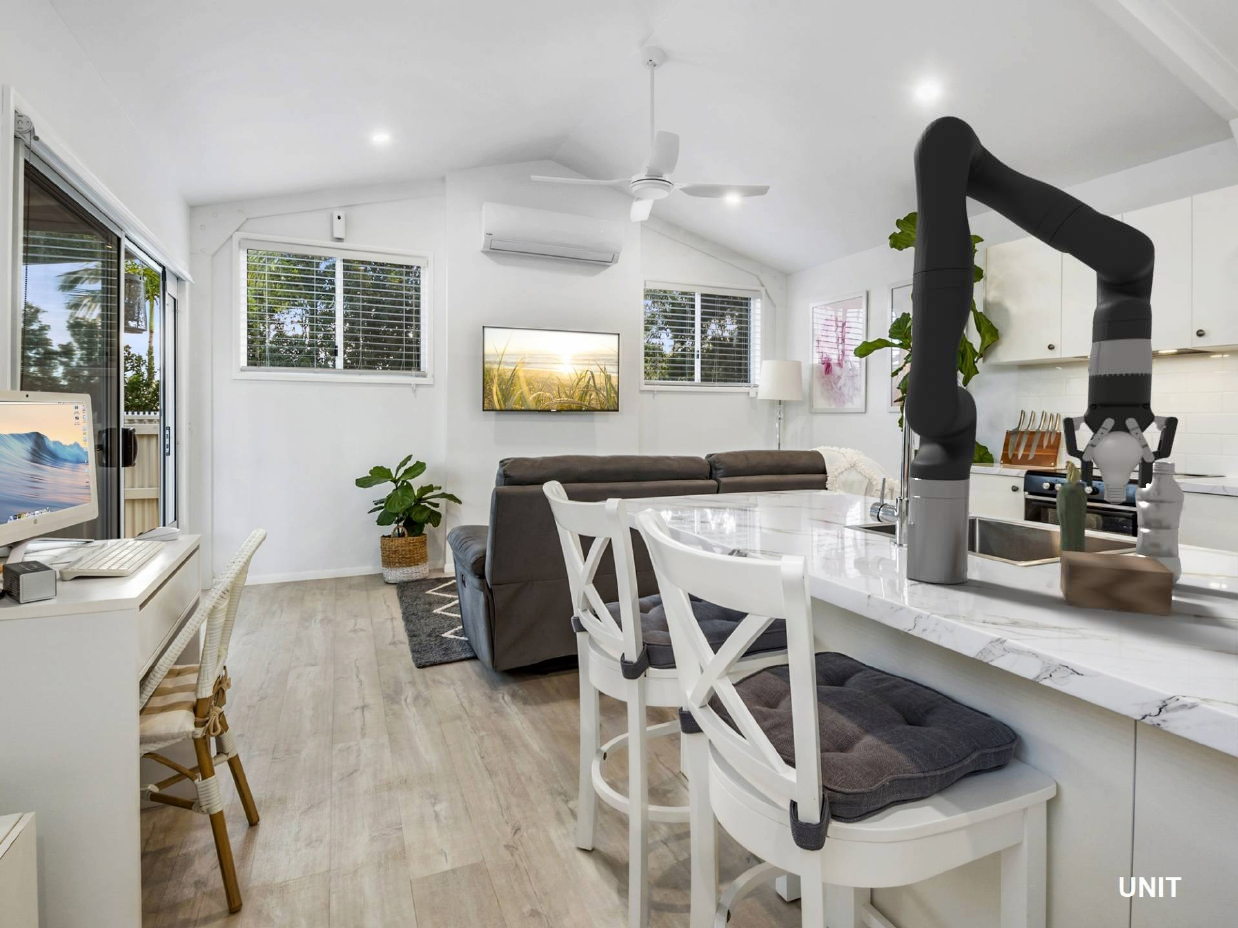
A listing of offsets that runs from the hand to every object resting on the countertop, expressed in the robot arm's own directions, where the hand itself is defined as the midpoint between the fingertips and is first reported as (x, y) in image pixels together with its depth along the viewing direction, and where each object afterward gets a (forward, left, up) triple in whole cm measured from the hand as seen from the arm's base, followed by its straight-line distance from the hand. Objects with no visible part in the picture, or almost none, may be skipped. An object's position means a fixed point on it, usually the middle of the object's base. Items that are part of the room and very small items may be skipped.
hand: (1115, 486), depth 101 cm
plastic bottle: (+8, +16, -17) cm, 25 cm away
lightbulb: (0, 0, -3) cm, 3 cm away
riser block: (0, 0, -17) cm, 17 cm away
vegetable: (-4, +16, -17) cm, 24 cm away
